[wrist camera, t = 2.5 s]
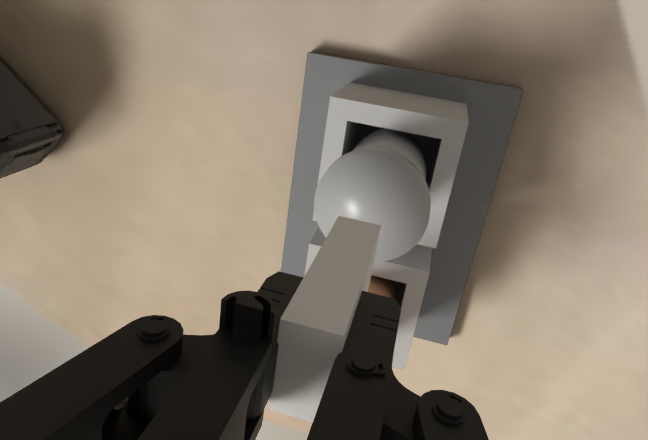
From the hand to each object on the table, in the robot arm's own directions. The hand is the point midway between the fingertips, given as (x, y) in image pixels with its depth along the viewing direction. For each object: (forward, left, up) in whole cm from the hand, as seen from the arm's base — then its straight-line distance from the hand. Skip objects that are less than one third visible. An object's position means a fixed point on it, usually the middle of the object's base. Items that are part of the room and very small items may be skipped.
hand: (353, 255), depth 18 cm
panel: (+4, 0, -15) cm, 15 cm away
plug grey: (0, 0, -10) cm, 10 cm away
